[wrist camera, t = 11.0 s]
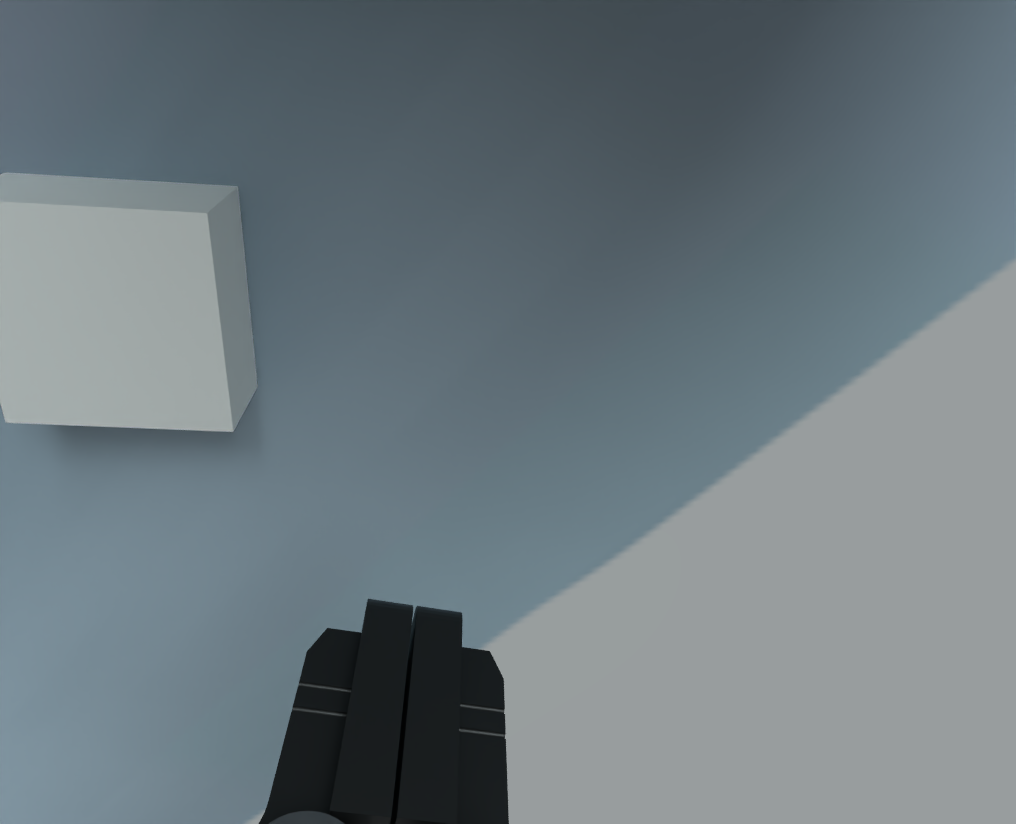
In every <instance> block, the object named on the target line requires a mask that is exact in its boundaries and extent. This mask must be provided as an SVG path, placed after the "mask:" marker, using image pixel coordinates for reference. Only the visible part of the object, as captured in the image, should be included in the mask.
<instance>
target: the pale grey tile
mask: <svg viewBox="0 0 1016 824" xmlns="http://www.w3.org/2000/svg"><path fill="white" fill-rule="evenodd" d="M257 387H258V383H257V373H256V363H255V353H254V343H253V332H252V322H251V312H250V302H249V292H248V281H247V271H246V261H245V251H244V241H243V231H242V220H241V210H240V200H239V190H238V186H228V185H211V184H194V183H177V182H160V181H143V180H126V179H109V178H92V177H75V176H58V175H41V174H24V173H7V172H5V173H2V174H0V404H1V407H2V411H3V415H4V418H5V422H6V423H23V424H48V425H73V426H97V427H122V428H147V429H172V430H197V431H222V432H234V430H235V428H236V426H237V424H238V423H239V421H240V419H241V417H242V415H243V413H244V411H245V410H246V408H247V406H248V404H249V402H250V400H251V398H252V397H253V395H254V393H255V391H256V389H257Z"/></svg>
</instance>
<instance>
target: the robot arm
mask: <svg viewBox="0 0 1016 824" xmlns="http://www.w3.org/2000/svg"><path fill="white" fill-rule="evenodd" d="M412 616H413V605H406V604H399V603H393V602H386V601H379V600H373V599H368V601H367V606H366V612H365V617H364V622H363V628H362V633H359V632H352V631H345V630H338V629H331V628H327V629H326V630H325V631H324V633H323V634H322V635H321V636H320V637H319V638H318V640H317V641H316V642H315V643H314V644H313V645H312V646H311V648H310V649H309V650H308V651H307V654H306V658H305V662H304V666H303V669H302V673H301V677H300V681H299V686H298V689H297V693H296V697H295V700H294V704H293V709H292V712H291V716H290V720H289V724H288V728H287V731H286V735H285V739H284V743H283V747H282V751H281V755H280V759H279V763H278V766H277V770H276V774H275V778H274V782H273V786H272V790H271V794H270V797H269V801H268V805H267V808H266V810H265V813H264V815H263V817H262V819H261V821H260V822H259V824H509V820H508V791H507V763H506V739H505V714H504V709H505V705H504V680H503V677H502V675H501V673H500V671H499V669H498V667H497V665H496V663H495V661H494V659H493V657H492V655H491V653H490V651H485V650H478V649H471V648H464V647H462V613H461V612H454V611H448V610H441V609H434V608H428V607H421V606H417V607H416V609H415V613H414V617H413V622H412Z"/></svg>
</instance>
